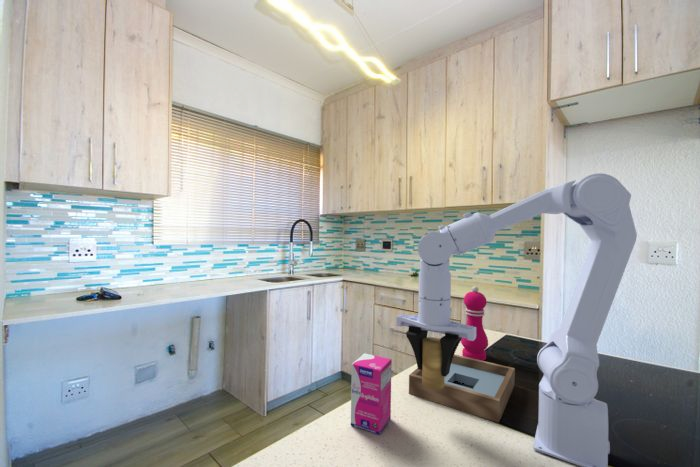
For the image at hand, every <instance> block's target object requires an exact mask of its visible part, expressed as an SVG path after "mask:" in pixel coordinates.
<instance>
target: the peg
mask: <svg viewBox="0 0 700 467" xmlns="http://www.w3.org/2000/svg"><path fill="white" fill-rule="evenodd" d="M440 339H441V337H440V338H438V337H432V336H429V337H428V336H427V338H424V339H423V352H422V384H423V385H424V386H425V387H427V388H430V389H442V388H443V387H444V379H445V376H442V350H441V343H440Z"/></svg>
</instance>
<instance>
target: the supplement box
mask: <svg viewBox="0 0 700 467" xmlns="http://www.w3.org/2000/svg"><path fill="white" fill-rule="evenodd" d="M392 361H393V360H392V359H391V358H387V357H383V356H378V355H374V354H370V353H363V354H362V355H361V356H359V357H358V358H357V359H356V360H355V361H353V362H352V363H351V384H350V385H351V387H350V389H351V390H350V393H351V394H350V426H352V427H356V428H359V429H362V430H365V431H368V432H370V433H374V434H375V435H380V434H381V433H382V432H383V430H384V429H385V428H386V426H387V424H388V423H389V422H390V420H391V417H392V415H391V413H392V410H391V409H392V401H391V400H392V363H393V362H392Z"/></svg>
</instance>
